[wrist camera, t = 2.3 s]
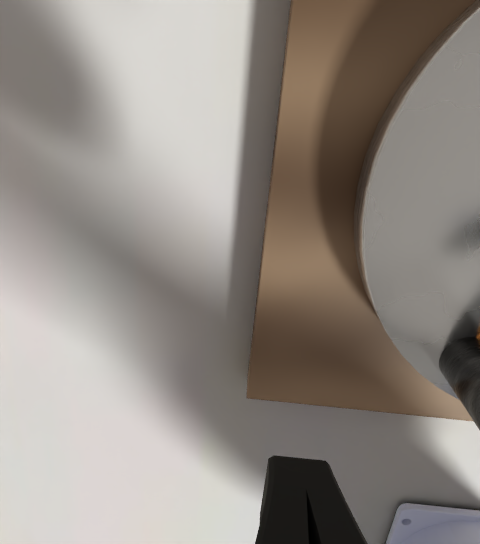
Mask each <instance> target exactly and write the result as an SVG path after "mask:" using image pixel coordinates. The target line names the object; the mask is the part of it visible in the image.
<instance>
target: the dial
mask: <svg viewBox="0 0 480 544" xmlns="http://www.w3.org/2000/svg"><path fill="white" fill-rule="evenodd" d="M354 245H355V251H356V258H357V265H358V269H359V273H360V276H361V279H362V283H363V286H364V289H365V292H366V294H367V296H368V298H369V300H370V302H371V304H372V306H373V308H374V311H375V313H376V314H377V316H378V318H379V320H380V322H381V324H382V325H383V327H384V329H385V331H386V333H387V334H388V336H389V337H390V339H391V340H392V342H393V343H394V345H395V346H396V348H397V349H398V350H399V352H400V353H401V355H402V356H403V357H404V358H405V359H406V360H407V361H408V362H409V363H410V364H411V365H412V366H413V367H414V369H415V370H416V371H417V372H418V373H420V374H421V375H422V376H423V377H425V378H426V379H427V380H429V381H430V382H431V383H432V384H434V385H435V386H436V387H438V388H439V389H441V390H443V391H445V392H446V393H448V394H450V395H451V396H453V397H455V398H457V399H458V400H460V401H461V403H462V404H463V406H464V407H465V409H466V410H467V412H468V413H469V415H470V416H471V418H472V419H473V421H474V422H475V424H476V425H477V427H478V428H479V430H480V0H476V1H475V2H474V3H473V4H472V5H471V6H469V7H468V8H467V9H466V10H465V11H464V12H463V13H462V14H461V15H460V16H459V17H457V18H456V19H455V20H454V21H453V22H452V23H451V24H450V25H449V26H448V27H447V28H446V29H444V30H443V31H442V33H441V34H440V35H439V36H438V37H437V38H436V40H435V41H434V42H433V43H432V44H431V45H430V46H429V48H428V49H427V50H426V51H425V52H424V53H423V54H422V56H421V57H420V58H419V59H418V60H417V61H416V63H415V64H414V66H413V67H412V69H411V70H410V71H409V73H408V74H407V76H406V77H405V79H404V80H403V82H402V83H401V84H400V86H399V87H398V89H397V90H396V92H395V93H394V95H393V97H392V99H391V101H390V103H389V104H388V106H387V108H386V110H385V112H384V114H383V116H382V117H381V119H380V121H379V123H378V125H377V128H376V130H375V133H374V135H373V138H372V140H371V143H370V145H369V148H368V150H367V153H366V156H365V159H364V163H363V167H362V171H361V175H360V178H359V182H358V187H357V194H356V202H355V210H354Z"/></svg>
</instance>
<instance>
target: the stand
mask: <svg viewBox="0 0 480 544" xmlns="http://www.w3.org/2000/svg"><path fill="white" fill-rule="evenodd" d="M475 1H476V0H291V5H290V13H289V22H288V31H287V39H286V48H285V57H284V65H283V74H282V83H281V91H280V100H279V109H278V118H277V126H276V135H275V144H274V152H273V161H272V170H271V178H270V187H269V196H268V204H267V213H266V222H265V230H264V239H263V248H262V256H261V265H260V274H259V282H258V291H257V300H256V309H255V317H254V326H253V335H252V343H251V352H250V361H249V369H248V379H247V398H250V399H260V400H270V401H280V402H289V403H299V404H309V405H319V406H329V407H338V408H348V409H358V410H368V411H378V412H387V413H397V414H407V415H417V416H427V417H436V418H446V419H456V420H466V421H473V419H472V418H471V416H470V415H469V413H468V412H467V410H466V409H465V407H464V406H463V404H462V403H461V401H460V400H458V399H457V398H455V397H453V396H451V395H450V394H448V393H446V392H445V391H443V390H441V389H439V388H438V387H436V386H435V385H434V384H432V383H431V382H430V381H429V380H427V379H426V378H425V377H423V376H422V375H421V374H420V373H418V372H417V371H416V370H415V369H414V367H413V366H412V365H411V364H410V363H409V362H408V361H407V360H406V359H405V358H404V357H403V356H402V355H401V353H400V352H399V350H398V349H397V348H396V346H395V345H394V343H393V342H392V340H391V339H390V337H389V336H388V334H387V333H386V331H385V329H384V327H383V325H382V324H381V322H380V320H379V318H378V316H377V314H376V313H375V311H374V308H373V306H372V304H371V302H370V300H369V298H368V296H367V294H366V292H365V289H364V286H363V283H362V279H361V276H360V273H359V269H358V265H357V258H356V251H355V245H354V210H355V202H356V194H357V187H358V182H359V178H360V175H361V171H362V167H363V163H364V159H365V156H366V153H367V150H368V148H369V145H370V143H371V140H372V138H373V135H374V133H375V130H376V128H377V125H378V123H379V121H380V119H381V117H382V116H383V114H384V112H385V110H386V108H387V106H388V104H389V103H390V101H391V99H392V97H393V95H394V93H395V92H396V90H397V89H398V87H399V86H400V84H401V83H402V82H403V80H404V79H405V77H406V76H407V74H408V73H409V71H410V70H411V69H412V67H413V66H414V64H415V63H416V61H417V60H418V59H419V58H420V57H421V56H422V54H423V53H424V52H425V51H426V50H427V49H428V48H429V46H430V45H431V44H432V43H433V42H434V41H435V40H436V38H437V37H438V36H439V35H440V34H441V33H442V31H443V30H444V29H446V28H447V27H448V26H449V25H450V24H451V23H452V22H453V21H454V20H455V19H456V18H457V17H459V16H460V15H461V14H462V13H463V12H464V11H465V10H466V9H467V8H468V7H469V6H471V5H472V4H473V3H474V2H475Z"/></svg>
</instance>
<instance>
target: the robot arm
mask: <svg viewBox="0 0 480 544" xmlns="http://www.w3.org/2000/svg"><path fill="white" fill-rule="evenodd" d="M255 544H368V543H367V542H366V540H365V538H364V536H363V534H362V532H361V530H360V529H359V527H358V525H357V523H356V521H355V519H354V517H353V515H352V513H351V511H350V509H349V507H348V505H347V503H346V501H345V499H344V497H343V494H342V492H341V490H340V488H339V486H338V484H337V481H336V479H335V477H334V475H333V472H332V470H331V468H330V465H329V464H328V463H327V462H326V461H322V460H312V459H302V458H293V457H283V456H272V457H271V458H269V459H268V466H267V472H266V479H265V485H264V492H263V498H262V505H261V511H260V526H259V530H258V534H257V538H256V542H255ZM386 544H480V511H479V510H469V509H459V508H450V507H440V506H431V505H421V504H411V503H404V504H401V505H400V506H399V507H398V509H397V512H396V515H395V518H394V520H393V523H392V526H391V529H390V532H389V535H388V538H387V541H386Z"/></svg>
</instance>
